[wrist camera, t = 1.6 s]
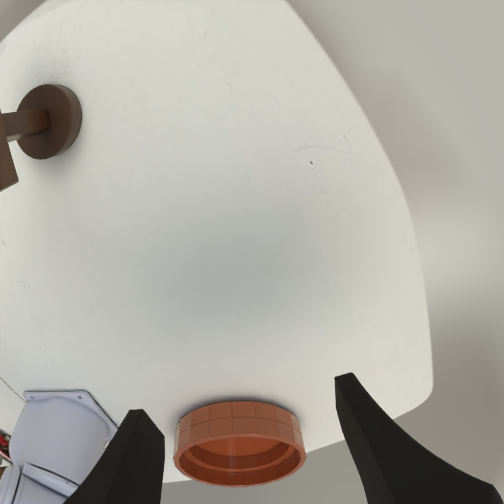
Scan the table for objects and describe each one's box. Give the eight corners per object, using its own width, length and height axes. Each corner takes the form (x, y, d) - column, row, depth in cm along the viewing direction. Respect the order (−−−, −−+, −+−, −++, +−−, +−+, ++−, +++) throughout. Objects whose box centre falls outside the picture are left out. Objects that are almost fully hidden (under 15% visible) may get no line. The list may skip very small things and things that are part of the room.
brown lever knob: (37, 175, 16) (-40, 214, 9) (16, 95, 13) (-66, 104, 7) (92, 150, 16) (19, 180, 9) (71, 64, 13) (-8, 51, 7)
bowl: (201, 462, 30) (200, 490, 26) (156, 405, 25) (151, 441, 21) (304, 446, 30) (310, 476, 26) (290, 384, 25) (298, 422, 21)
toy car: (29, 459, 32) (24, 474, 29) (-7, 430, 28) (-14, 444, 26) (40, 459, 31) (35, 475, 28) (1, 429, 28) (-6, 445, 25)
